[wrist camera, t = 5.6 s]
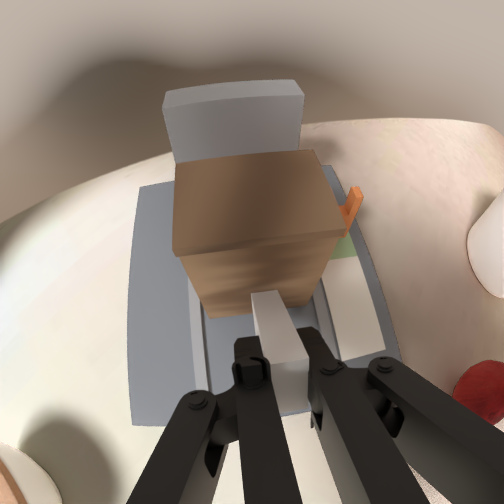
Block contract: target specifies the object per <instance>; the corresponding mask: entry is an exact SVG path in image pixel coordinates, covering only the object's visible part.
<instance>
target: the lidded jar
mask: <svg viewBox="0 0 504 504" xmlns="http://www.w3.org/2000/svg"><path fill="white" fill-rule="evenodd" d="M0 504H63V503H62V498H61V495H60V492H59V490H58V488H57V486H56V484H55V482H54V481H53V480H52V478H51V477H50V476H49V474H48V473H47V472H46V471H45V470H44V469H43V468H42V467H40V466H39V465H38V464H37V463H36V462H35V461H34V460H32V459H31V458H30V457H29V456H27V455H26V454H25V453H23V452H22V451H20V450H18V449H16V448H15V447H13V446H10V445H8V444H5V443H2V442H0Z"/></svg>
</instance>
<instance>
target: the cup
mask: <svg viewBox="0 0 504 504" xmlns="http://www.w3.org/2000/svg"><path fill="white" fill-rule="evenodd" d="M467 250H468V256H469V260H470V263H471V266H472V268H473V271H474V273H475V275H476V277H477V278H478V280H479V281H480V283H481V284H482V285H483V287H484V288H485V289H486V290H487V291H488V292H490V293H491V294H492V295H494V296H496V297H498V298H504V188H503V189H502V190H501V192H500V193H499V194H498V196H497V197H496V198H495V200H494V201H493V202H492V203H491V205H490V206H489V207H488V208H487V210H486V211H485V212H484V213H483V214H482V216H481V217H480V218H479V219H478V220H477V222H476V223H475V224H474V225H473V226H472V228H471V229H470V232H469V234H468V239H467Z"/></svg>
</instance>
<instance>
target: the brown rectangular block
mask: <svg viewBox="0 0 504 504" xmlns="http://www.w3.org/2000/svg"><path fill="white" fill-rule="evenodd" d="M346 230H347V227H346V224H345V222H344V219H343V217H342V214H341V212H340V209H339V207H338V204H337V202H336V199H335V197H334V195H333V192H332V190H331V188H330V185H329V183H328V181H327V179H326V176H325V174H324V172H323V170H322V167H321V165H320V163H319V161H318V159H317V157H316V155H315V152H314V150H295V151H278V152H265V153H253V154H243V155H233V156H225V157H217V158H209V159H202V160H195V161H188V162H182V163H176V168H175V183H174V200H173V225H172V251H173V253H174V255H175V257H179V258H180V260H181V263H182V265H183V267H184V269H185V271H186V273H187V275H188V277H189V279H190V281H191V283H192V285H193V287H194V289H195V291H196V293H197V295H198V297H199V299H200V301H201V303H202V305H203V307H204V309H205V311H206V313H207V315H208V317H209V319H212V318H221V317H229V316H237V315H245V314H252V313H253V308H252V299H251V293H257V292H265V291H272V290H278V292H279V295H280V297H281V299H282V301H283V303H284V305H285V307H286V308H293V307H299V306H305V305H307V304H308V302H309V300H310V298H311V296H312V294H313V292H314V290H315V288H316V286H317V284H318V282H319V280H320V278H321V276H322V274H323V272H324V270H325V267H326V265H327V263H328V261H329V259H330V257H331V255H332V253H333V250H334V248H335V246H336V244H337V242H338V239H339V237H341V236H344V234H345V232H346Z"/></svg>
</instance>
